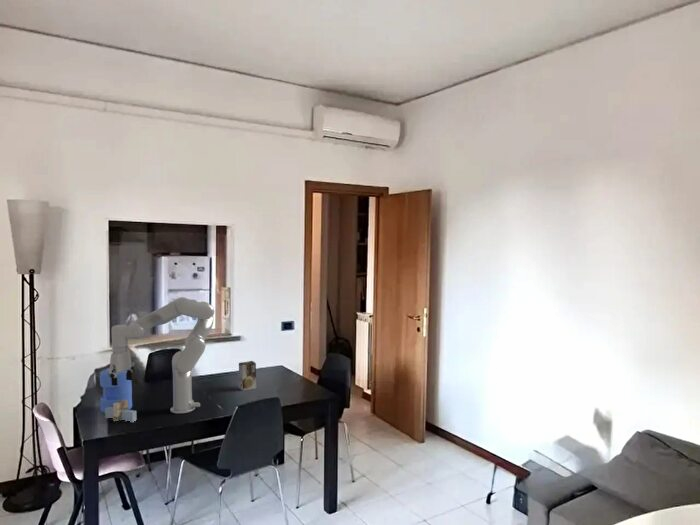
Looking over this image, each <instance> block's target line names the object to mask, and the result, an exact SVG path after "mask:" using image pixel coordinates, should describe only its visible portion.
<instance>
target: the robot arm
mask: <svg viewBox="0 0 700 525" xmlns="http://www.w3.org/2000/svg"><path fill="white" fill-rule="evenodd" d="M213 306H214V305H212V304H210V303H208V302H207V301H196V300H192V299H189V298H187V297H179V298H176V299H174V300H172V301H170V302H169V303H167V304H166V305H163V306H162V307H160V308H157V309H156V310H154V311H151V312H149V313H147V314H146V315H142V316H141V317H139V318H138V319H135V320H134V321H132V322H131V323H129V325H126V324H115V325H113V326H112V327H111V345H112V346H111V347H112V348H111V350H112V353H110V361H109V367H110V368H109V367H108V368H109V369H108V370H107V373H108V375H109V376H110V378H111V381H112V385H113V386H117V385H118V384H117V378H116V376H117V374H118V373H121V372H124V371H127V372H126V380H131V381H132V380H133V370H134V368H135V364H136V363H135V362H134V361H132V358H131V357H132V356H131V352H130V350H129V348H130V345H129V340H137V339H141V338H143V336H144V335H145V331H148V330H149V329H151V328H154V327H157V326H162V325H165V324H167V323H170V322H172V321H173V320H175V319H176V318H178V317H180V316H186V317H189V318H196V319H197V320H196V323H195V325H194V326H193V328H192V330H191V331H190V332H189V334H188V335H187V337H186V339H185V340H184V349H183V350H179V351H177V352H175V354H174V355H172V358H171V359H172V360H171V366H172V394H173V395H172V398H173V399H172V400H173V401H172V402H173V404H172V405H173V406H172V407H171V408H170V413H173V414H186V413H191V412H193V411H194V410H195V409H196V408H200V407H201V403H200V402H196V401H194V399H193V390H192V389H193V388H192V386H193V385H192V384H193V383H192V380H193V379H192V378H193V376H192V370H193V369H194V368H195V366H196V364H197V363H198V361H199V360H200V359H201V357H202V355H203V354H204V353H205V350H206V345H207V344H206V341H205V340H206V338H207V337H208V335H209V334H210V332H211V330H212V329H213V328H212V327H213V325H214V314H215V307H213ZM114 373H115V375H114Z"/></svg>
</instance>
